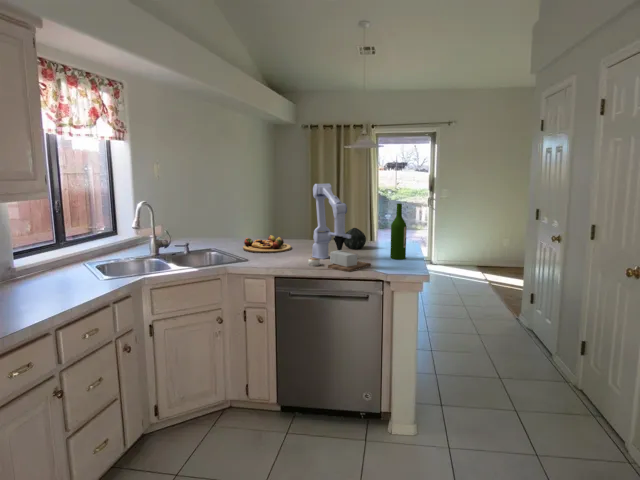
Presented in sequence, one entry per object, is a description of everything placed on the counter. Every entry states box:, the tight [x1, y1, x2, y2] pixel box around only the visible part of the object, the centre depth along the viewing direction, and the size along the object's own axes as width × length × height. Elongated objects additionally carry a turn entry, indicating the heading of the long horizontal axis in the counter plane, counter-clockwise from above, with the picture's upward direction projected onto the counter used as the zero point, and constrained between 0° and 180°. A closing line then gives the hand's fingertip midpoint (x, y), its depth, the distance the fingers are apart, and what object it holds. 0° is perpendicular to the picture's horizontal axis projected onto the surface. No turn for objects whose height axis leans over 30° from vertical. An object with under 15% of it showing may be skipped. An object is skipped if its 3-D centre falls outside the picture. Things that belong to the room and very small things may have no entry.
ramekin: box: [307, 257, 321, 267], centre depth 251 cm, size 6×6×4 cm
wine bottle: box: [389, 203, 407, 261], centre depth 267 cm, size 9×9×32 cm
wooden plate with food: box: [242, 234, 292, 254], centre depth 301 cm, size 32×32×8 cm
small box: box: [329, 249, 358, 267], centre depth 247 cm, size 8×6×13 cm
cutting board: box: [327, 260, 372, 273], centre depth 247 cm, size 14×20×2 cm
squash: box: [343, 227, 367, 250], centre depth 302 cm, size 14×15×15 cm
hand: (339, 250), depth 250 cm, fingers closed
